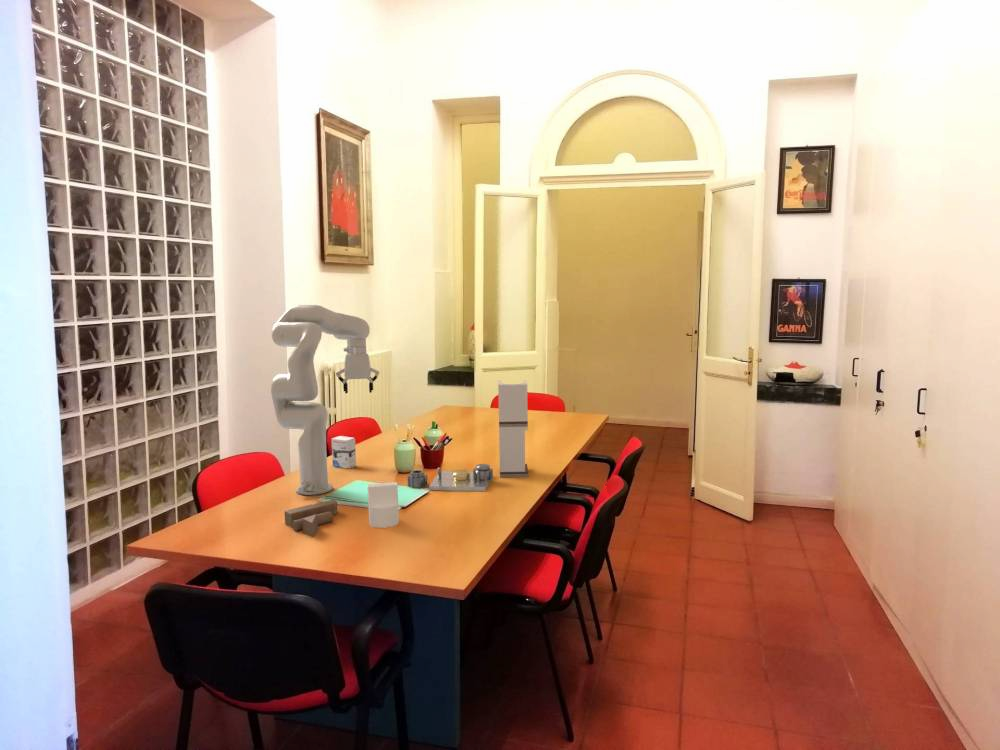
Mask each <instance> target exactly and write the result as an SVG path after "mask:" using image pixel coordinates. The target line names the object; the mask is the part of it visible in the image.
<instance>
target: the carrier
mask: <svg viewBox="0 0 1000 750" xmlns="http://www.w3.org/2000/svg"><path fill="white" fill-rule="evenodd" d="M475 466H476V468H473V470H472V471H470V470H468V469H456V470H453V471H451V470H450V471H446V470H445V471H444V470H442V467H439V466H438V467H437V474H436V475H435V477H434V478H433V480H432V481H431V483H430V484H429V485H428V491H444V492H445V491H446V492H447V491H449V492H453V491H455V492H456V491H457V492H461V491H463V492H486V490H487V489H488V486H489V483H490V481H492V480H493V479H494V474H493V473H494V472H493V471H494V468H491V467H490V464H489V463H479V464H476V465H475Z"/></svg>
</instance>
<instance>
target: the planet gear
mask: <svg viewBox="0 0 1000 750" xmlns="http://www.w3.org/2000/svg"><path fill="white" fill-rule="evenodd" d="M406 479H407V483H406V484H407V487H408V486H409V487H410V488H411V487H412V488H411V489H414V488H417V489H421V488H425V487H427V485H428V474H425V471H424V470H422V469H413V470H411V471H410V472H409V474H408V476H406ZM413 487H414V488H413Z"/></svg>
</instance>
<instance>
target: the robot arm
mask: <svg viewBox="0 0 1000 750" xmlns="http://www.w3.org/2000/svg"><path fill="white" fill-rule="evenodd" d="M322 333H324V334H327V335H331V336H332V335H333V337H334V338H335V339H337V340H343V341H344V340H345V341H346V346H347V347H344V348H343V352H346V354H345V356H344V368H343V369H341V370H339V371H337V372H336V373H335V375H336V377H337V378H338V380H339V381H340V382H341V383H342V384H343V392H344V393H345V395H346V394H348V392H349V389H348V381H349V380H368V381H369V382H368V391H369V394H370V393H372V392H373V391H374V382H375V381H376V380H377V378H378V377H379V374H380V371H379V370H377V369H375V368H372V367H371V362H370V357H369V353H367V340H366V339H367V338H368V337H369V335H370V333H371V332H370V325H369V324H368V322H367V321H366V320H365V319H364V318H363V319H362V317H361V318H360V317H359V316H354V315H350V314H344V313H340V312H335V311H333V310H331V309H329V308H327V307H324V306H321V305H317V304H298V305H297V304H296V305H293V306H291V307H290V308H288V309H287V310H286V311H285V312H284V314H282V316H281V317H279V319H278V320H277V321H276V322H275V324H274V325H273V327H272V331H271V338H272V341H273V343H274V344H275V345H277V346H279V347H285V348H286V347H287V348H289V347H290V348H291V347H295V348H294V349H293V351H292V352H291V353H290V355H289V357H288V360H287V368H288V373H280V374H279V373H278V374H277V375H276V376H274V378H273V379H272V382H271V385H270V387H271V388H270V394H271V398H272V403H273V407H274V412H275V417H276V420H277V423H278V425H279V426H280V427H281V428H283V429H287V430H303V432H302V434H301V436H300V437H299V439H298V443H297V447H298V448H297V449H298V464H299V483H300V485H298V486H297V487H296V489H295V490H296V491H295V492H296V493H297V494H298V495H303V496H317V495H322V494H326V493H329V492H331V491H332V490H333V488H334V486H333V484H331V483H330V482H329V479H328V478H329V477H328V457H327V455H328V454H327V453H328V452H327V423H328V417H329V416H328V410H327V407H326V406H325V405H324V404H321V403H318V402H313V401H314V400H315V399H316V398H317V397H318V394H319V386H318V381H317V380H318V379H317V376H316V370H315V365H314V361H315V360H314V358H315V354H316V351H317V349H318V346H319V344H320V343H321V340H322V337H323V336H322ZM371 373H374V376H373V377H371ZM341 374H344V378H343V377H342V376H341ZM311 401H312V402H311Z"/></svg>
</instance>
